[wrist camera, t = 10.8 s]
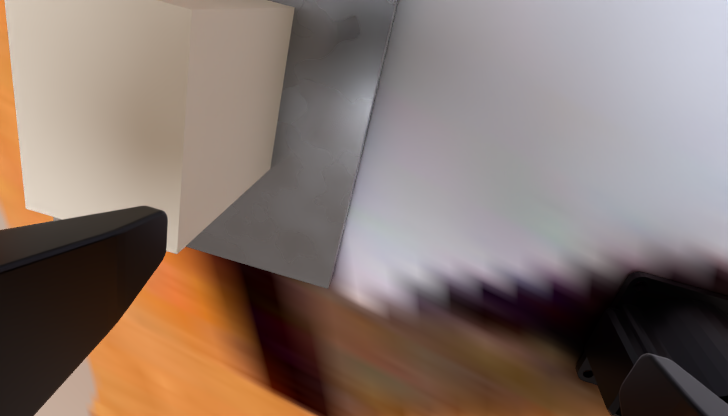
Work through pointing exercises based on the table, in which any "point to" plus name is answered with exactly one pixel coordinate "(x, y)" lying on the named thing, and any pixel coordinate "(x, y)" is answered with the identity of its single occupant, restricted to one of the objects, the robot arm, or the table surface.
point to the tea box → (146, 104)
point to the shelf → (310, 144)
